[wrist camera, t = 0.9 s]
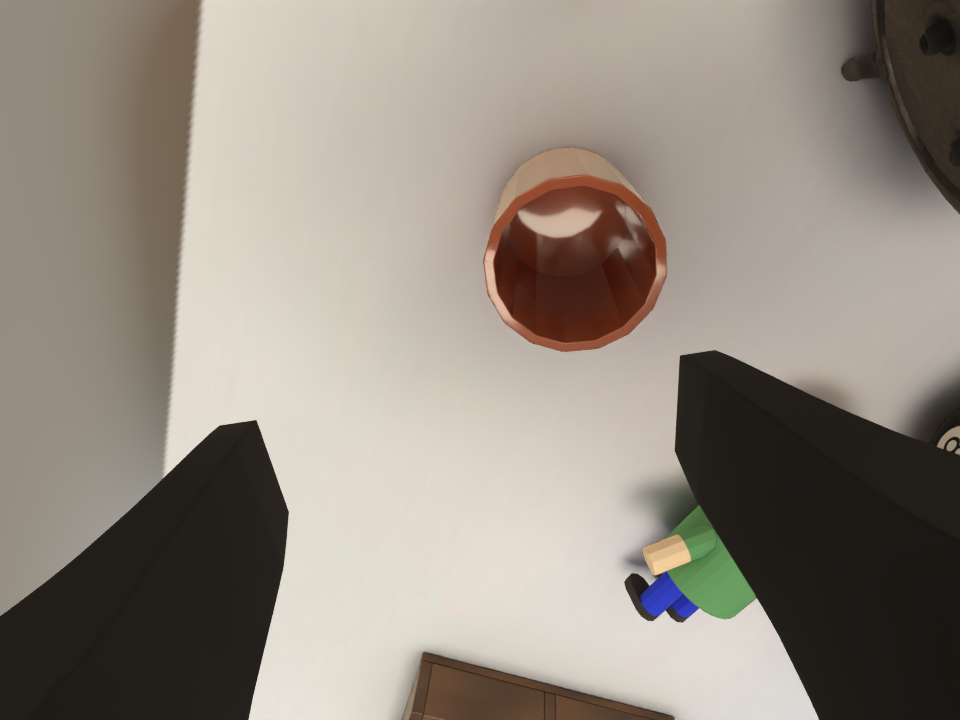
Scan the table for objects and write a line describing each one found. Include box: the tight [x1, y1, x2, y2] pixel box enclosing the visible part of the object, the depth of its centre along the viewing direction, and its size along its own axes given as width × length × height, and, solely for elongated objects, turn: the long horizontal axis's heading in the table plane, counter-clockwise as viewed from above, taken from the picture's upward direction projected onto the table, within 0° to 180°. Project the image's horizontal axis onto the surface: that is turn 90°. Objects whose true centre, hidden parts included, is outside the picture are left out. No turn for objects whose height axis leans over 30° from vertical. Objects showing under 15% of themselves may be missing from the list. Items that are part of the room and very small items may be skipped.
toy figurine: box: [624, 505, 757, 622], centre depth 26 cm, size 8×4×12 cm
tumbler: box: [483, 147, 667, 352], centre depth 21 cm, size 5×5×7 cm
